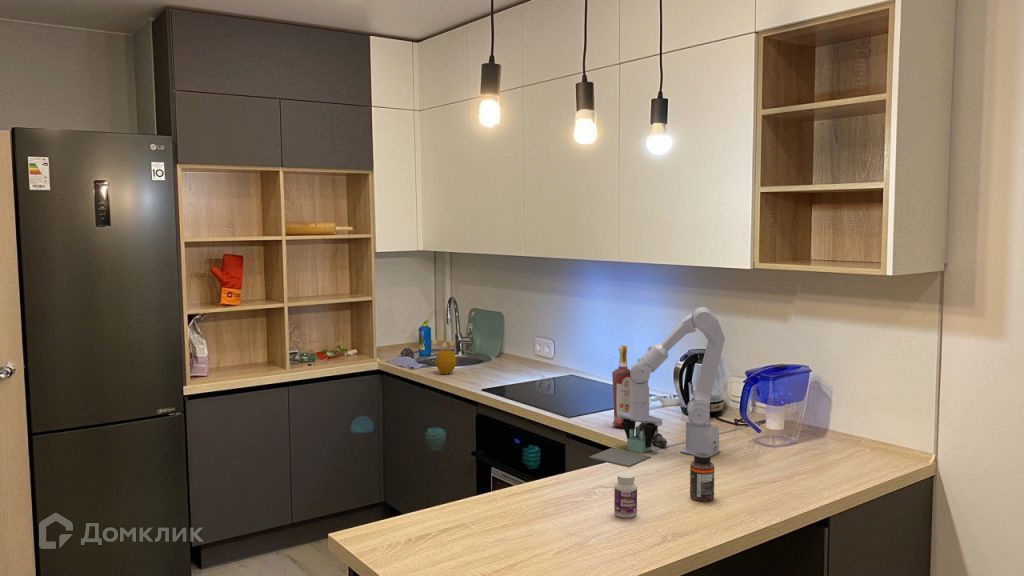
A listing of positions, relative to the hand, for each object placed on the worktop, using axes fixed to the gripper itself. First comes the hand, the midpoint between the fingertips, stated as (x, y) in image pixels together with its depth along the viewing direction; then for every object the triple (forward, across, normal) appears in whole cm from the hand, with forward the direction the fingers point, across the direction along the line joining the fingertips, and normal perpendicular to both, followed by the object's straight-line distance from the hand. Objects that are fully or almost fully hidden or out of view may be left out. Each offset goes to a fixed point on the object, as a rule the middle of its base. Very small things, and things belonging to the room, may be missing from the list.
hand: (639, 445), depth 242 cm
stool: (+1, 0, 0) cm, 1 cm away
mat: (+1, 0, +11) cm, 11 cm away
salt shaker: (-2, +5, -11) cm, 12 cm away
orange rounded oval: (+2, +135, -52) cm, 145 cm away
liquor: (+2, +19, -20) cm, 28 cm away
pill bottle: (+2, -26, +49) cm, 56 cm away
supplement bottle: (+2, -34, +28) cm, 44 cm away
